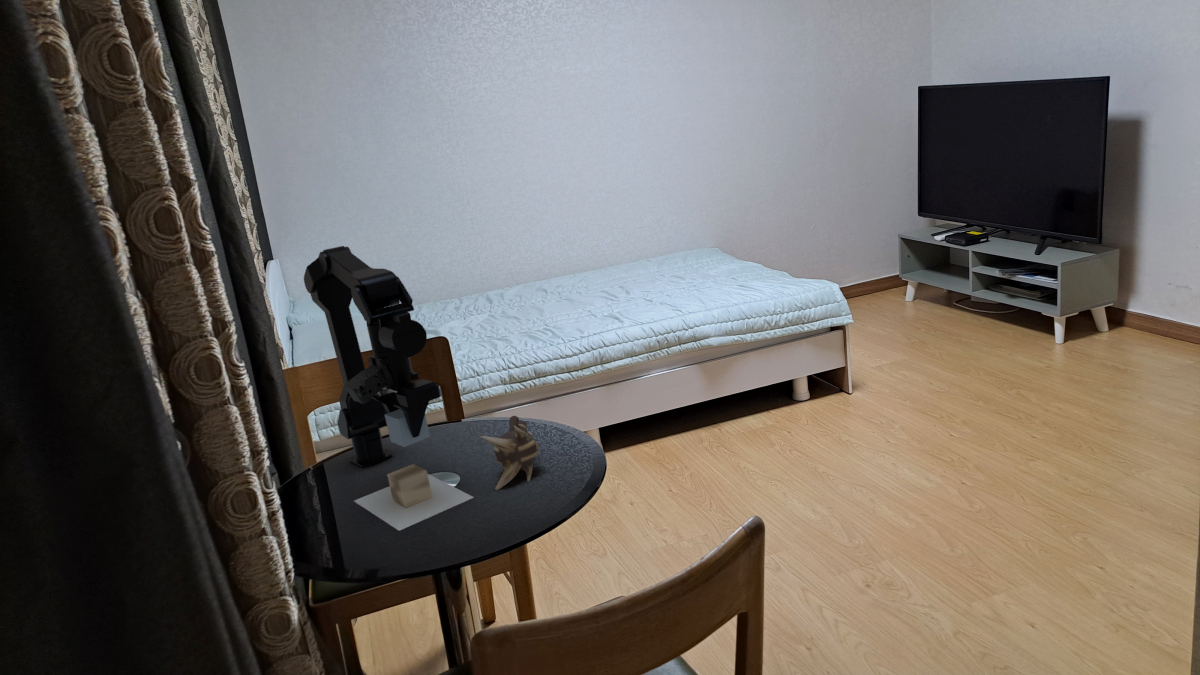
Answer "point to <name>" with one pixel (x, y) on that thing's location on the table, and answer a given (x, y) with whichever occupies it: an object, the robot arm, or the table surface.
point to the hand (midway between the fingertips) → (408, 433)
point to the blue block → (403, 429)
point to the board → (405, 517)
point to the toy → (514, 451)
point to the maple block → (409, 486)
